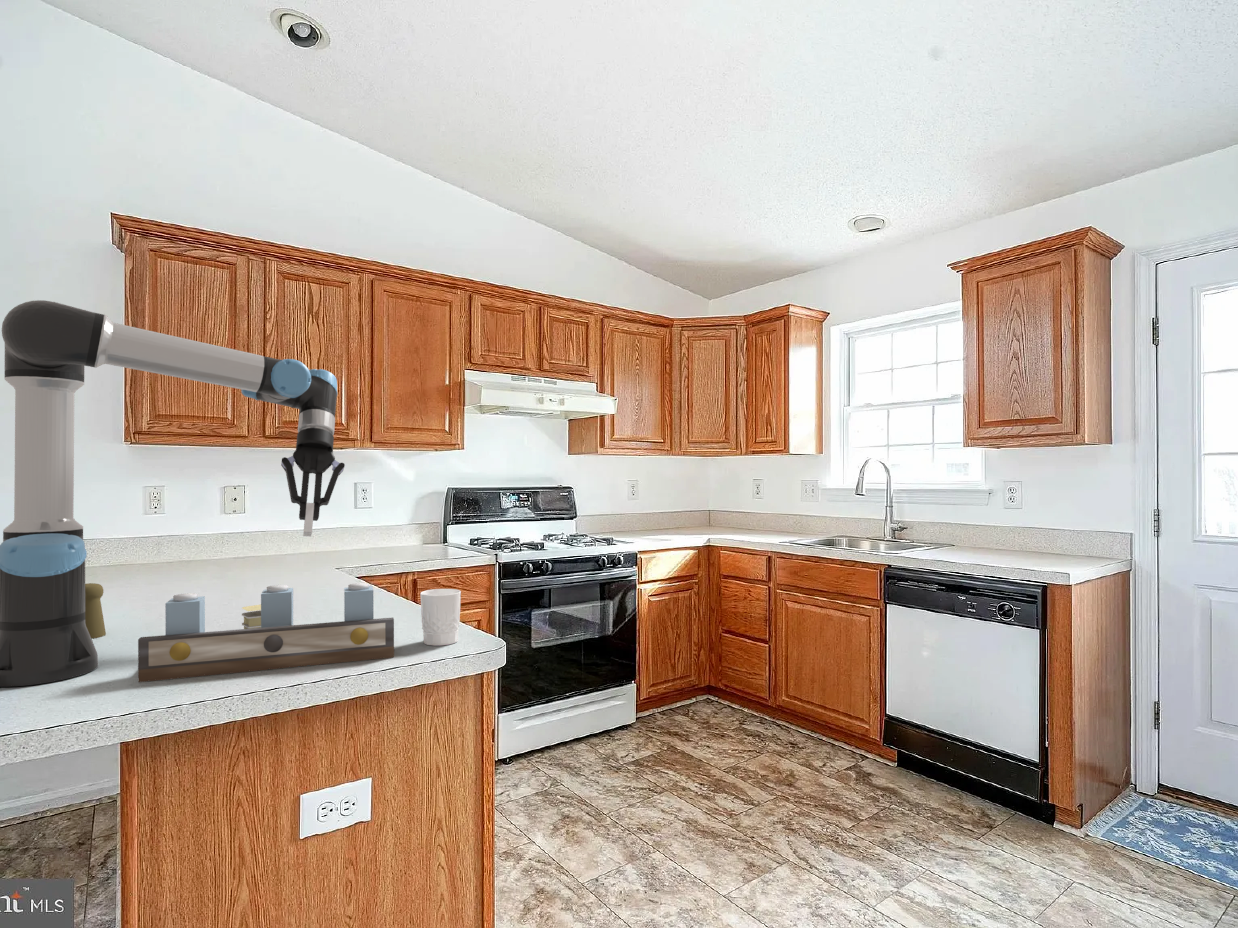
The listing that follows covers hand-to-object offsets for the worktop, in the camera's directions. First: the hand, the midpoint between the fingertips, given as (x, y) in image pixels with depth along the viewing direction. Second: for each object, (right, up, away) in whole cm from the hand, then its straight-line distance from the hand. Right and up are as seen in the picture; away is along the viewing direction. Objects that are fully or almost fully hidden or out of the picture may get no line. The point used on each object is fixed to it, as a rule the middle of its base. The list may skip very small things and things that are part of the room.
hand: (307, 533), depth 148 cm
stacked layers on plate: (-13, -22, +5) cm, 26 cm away
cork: (-46, -22, +1) cm, 51 cm away
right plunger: (+16, -19, -15) cm, 29 cm away
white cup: (+29, -21, -6) cm, 37 cm away
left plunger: (-10, -19, -26) cm, 33 cm away
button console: (+2, -21, -18) cm, 28 cm away
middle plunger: (+2, -19, -17) cm, 25 cm away
